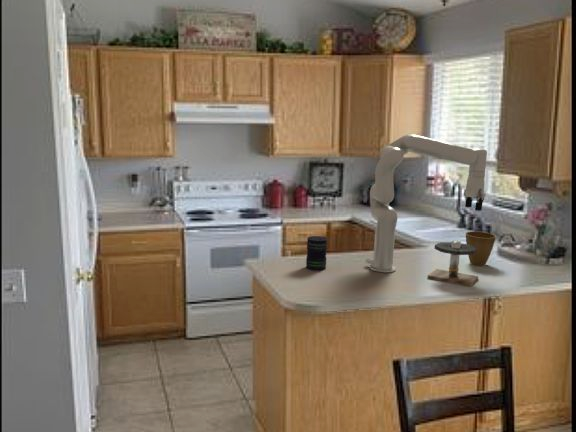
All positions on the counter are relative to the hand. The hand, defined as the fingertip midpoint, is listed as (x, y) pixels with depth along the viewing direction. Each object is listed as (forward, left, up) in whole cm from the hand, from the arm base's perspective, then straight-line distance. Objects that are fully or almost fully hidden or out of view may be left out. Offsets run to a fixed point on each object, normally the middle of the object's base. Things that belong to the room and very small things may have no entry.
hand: (473, 208), depth 279 cm
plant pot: (+2, +14, -31) cm, 34 cm away
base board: (-1, -22, -31) cm, 38 cm away
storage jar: (-61, -47, -31) cm, 83 cm away
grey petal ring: (-1, -22, -17) cm, 28 cm away
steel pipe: (-1, -22, -29) cm, 37 cm away
